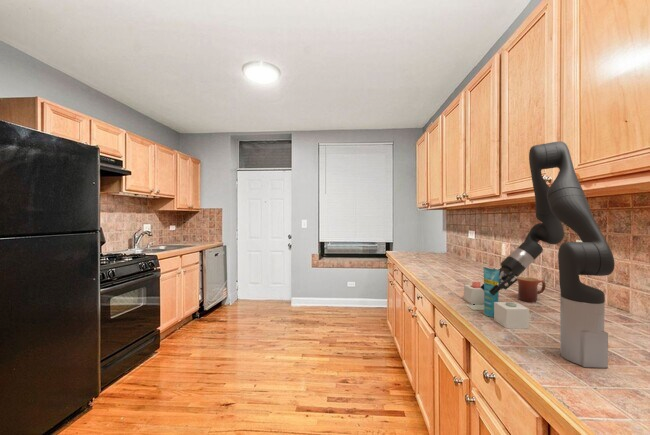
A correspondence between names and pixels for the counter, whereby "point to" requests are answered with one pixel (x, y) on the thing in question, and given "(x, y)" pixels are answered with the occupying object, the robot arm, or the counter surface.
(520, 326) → the block with green button
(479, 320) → the counter surface
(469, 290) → the grey block
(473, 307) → the pad
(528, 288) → the mug
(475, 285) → the gauge button
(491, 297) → the tube
